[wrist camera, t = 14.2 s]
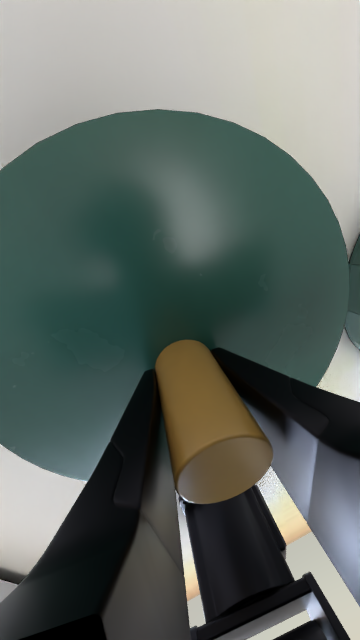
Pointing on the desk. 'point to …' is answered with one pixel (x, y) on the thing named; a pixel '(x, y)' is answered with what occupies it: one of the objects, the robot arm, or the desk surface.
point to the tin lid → (160, 290)
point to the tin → (354, 298)
